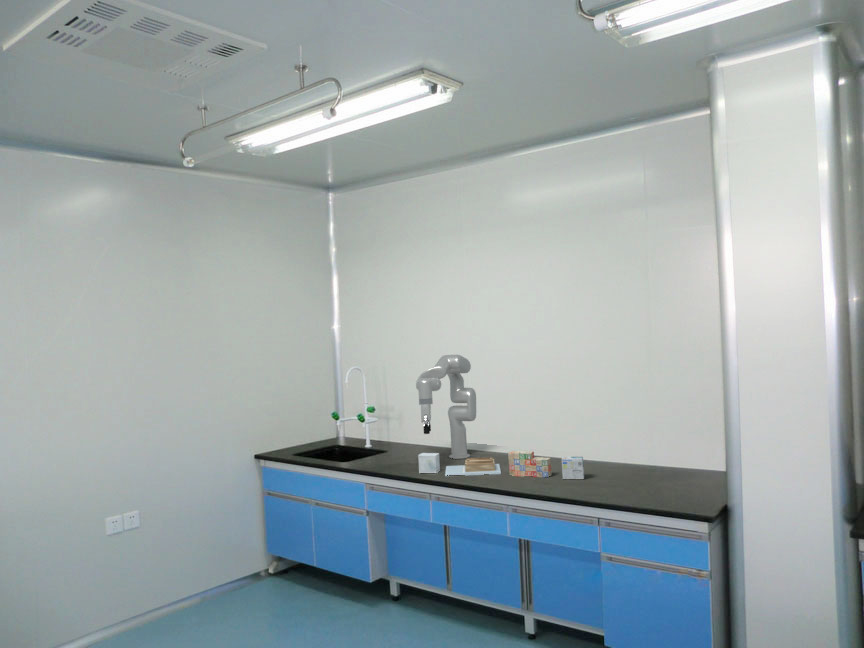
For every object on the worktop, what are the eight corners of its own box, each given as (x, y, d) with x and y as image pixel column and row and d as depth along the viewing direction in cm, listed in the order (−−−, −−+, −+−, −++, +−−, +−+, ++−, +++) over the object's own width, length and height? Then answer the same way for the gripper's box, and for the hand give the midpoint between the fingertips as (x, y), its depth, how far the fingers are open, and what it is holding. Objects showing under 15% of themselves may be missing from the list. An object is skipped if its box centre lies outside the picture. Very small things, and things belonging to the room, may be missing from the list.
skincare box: (418, 473, 378) (417, 454, 378) (423, 471, 384) (422, 452, 384) (436, 474, 375) (435, 455, 375) (440, 471, 381) (439, 452, 381)
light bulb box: (584, 476, 349) (583, 455, 349) (584, 480, 343) (582, 458, 343) (563, 476, 352) (562, 456, 352) (562, 479, 345) (561, 458, 345)
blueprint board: (446, 467, 390) (446, 465, 390) (499, 465, 388) (499, 463, 388) (445, 476, 368) (445, 474, 368) (500, 474, 366) (500, 471, 366)
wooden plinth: (465, 466, 385) (465, 457, 385) (494, 465, 384) (493, 456, 384) (465, 472, 371) (464, 462, 371) (495, 470, 370) (494, 461, 370)
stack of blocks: (551, 475, 357) (550, 451, 357) (548, 478, 352) (547, 454, 352) (513, 473, 367) (512, 450, 367) (509, 476, 361) (507, 452, 361)
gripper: (420, 400, 389) (421, 430, 388) (417, 403, 371) (419, 435, 371) (433, 399, 388) (434, 429, 388) (431, 403, 371) (433, 434, 371)
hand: (427, 432), depth 380 cm, fingers open, 9 cm apart
